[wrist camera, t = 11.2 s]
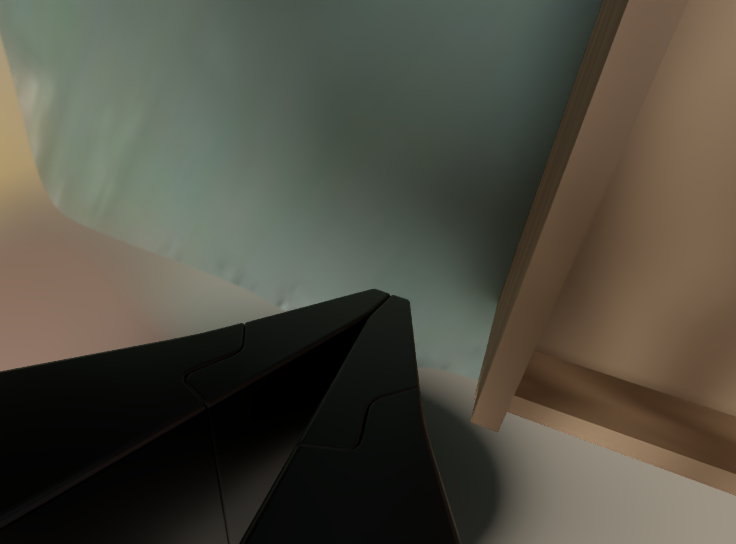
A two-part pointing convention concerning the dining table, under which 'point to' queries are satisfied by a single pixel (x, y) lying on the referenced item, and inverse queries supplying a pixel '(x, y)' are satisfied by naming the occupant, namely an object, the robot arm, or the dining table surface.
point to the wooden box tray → (632, 251)
